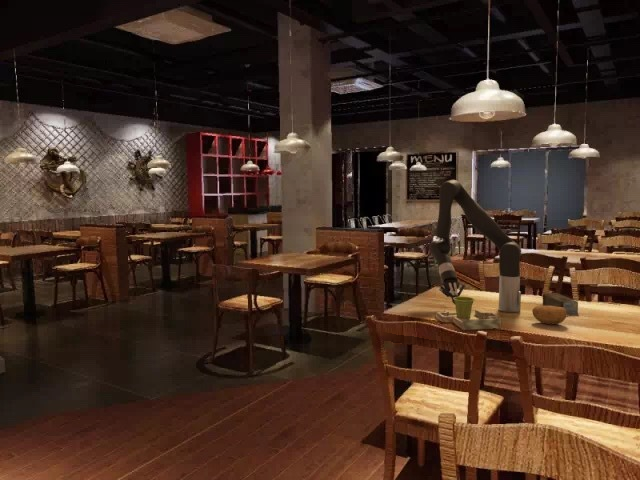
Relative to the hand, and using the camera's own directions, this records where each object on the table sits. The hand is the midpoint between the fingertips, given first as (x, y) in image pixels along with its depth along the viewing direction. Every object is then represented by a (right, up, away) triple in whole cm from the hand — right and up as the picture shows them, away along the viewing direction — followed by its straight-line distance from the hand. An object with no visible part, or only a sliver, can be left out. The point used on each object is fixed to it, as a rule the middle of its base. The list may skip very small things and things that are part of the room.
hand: (456, 303), depth 245 cm
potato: (+35, -7, -21) cm, 41 cm away
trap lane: (+2, -6, -16) cm, 17 cm away
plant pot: (+1, -6, -8) cm, 10 cm away
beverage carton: (+52, -4, +6) cm, 53 cm away
